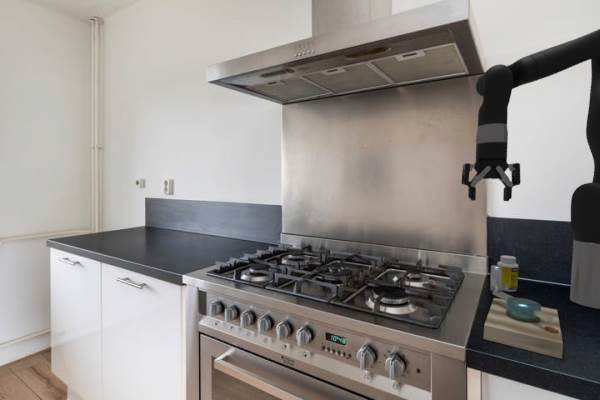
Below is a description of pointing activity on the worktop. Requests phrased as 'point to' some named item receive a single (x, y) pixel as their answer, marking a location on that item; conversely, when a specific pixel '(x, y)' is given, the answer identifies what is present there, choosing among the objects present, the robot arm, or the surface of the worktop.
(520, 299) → the teal knob with stem
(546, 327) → the stand
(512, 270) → the supplement bottle
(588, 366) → the worktop surface
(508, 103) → the robot arm
